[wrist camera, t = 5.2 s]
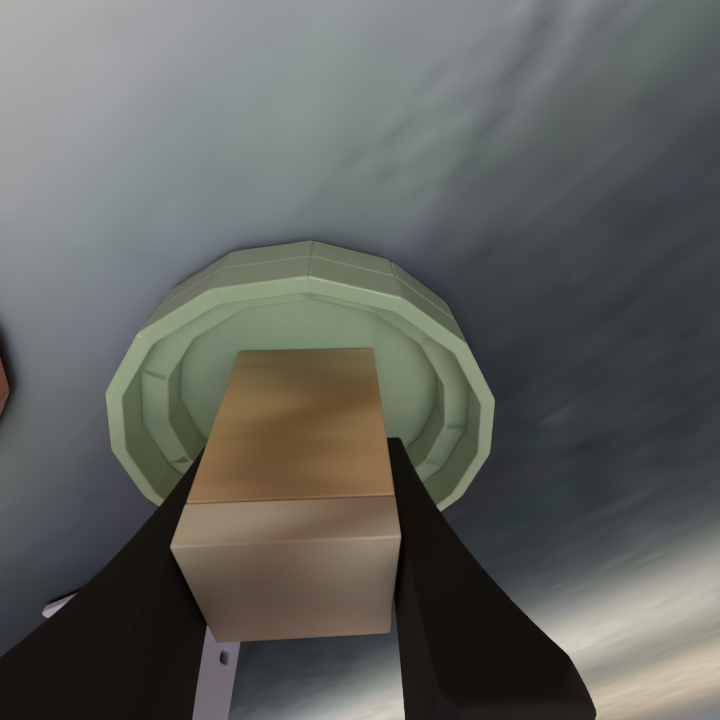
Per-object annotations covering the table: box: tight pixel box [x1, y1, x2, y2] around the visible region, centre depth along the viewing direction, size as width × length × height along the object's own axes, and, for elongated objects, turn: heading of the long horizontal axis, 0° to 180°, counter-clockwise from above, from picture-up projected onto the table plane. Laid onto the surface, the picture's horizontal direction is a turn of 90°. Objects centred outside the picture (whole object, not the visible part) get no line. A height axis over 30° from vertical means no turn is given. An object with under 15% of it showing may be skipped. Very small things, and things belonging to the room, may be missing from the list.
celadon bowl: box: [105, 240, 495, 512], centre depth 14 cm, size 12×12×3 cm
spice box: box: [170, 348, 401, 643], centre depth 12 cm, size 5×5×7 cm
